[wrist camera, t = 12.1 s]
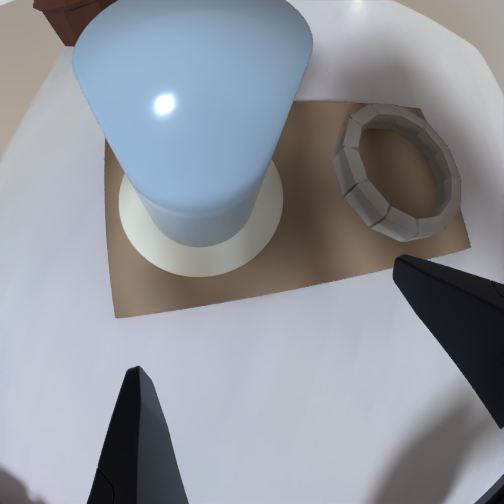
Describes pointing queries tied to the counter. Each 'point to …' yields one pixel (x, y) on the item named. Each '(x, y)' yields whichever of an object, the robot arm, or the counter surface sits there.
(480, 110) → the counter surface
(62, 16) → the muffin
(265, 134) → the pale blue cylinder
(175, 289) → the tan flat slab
